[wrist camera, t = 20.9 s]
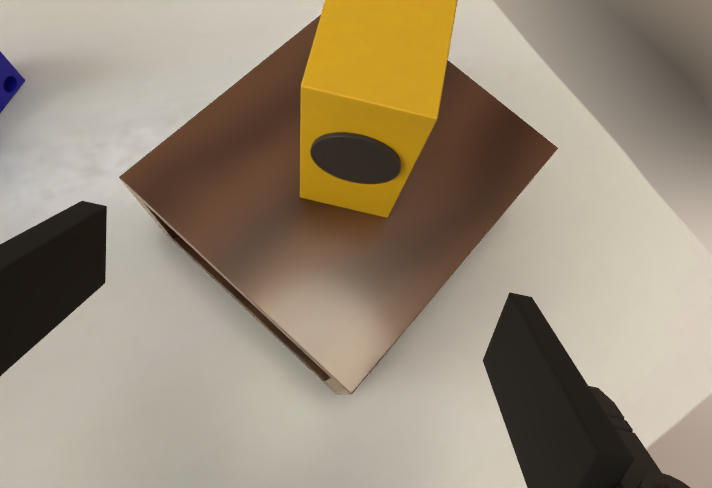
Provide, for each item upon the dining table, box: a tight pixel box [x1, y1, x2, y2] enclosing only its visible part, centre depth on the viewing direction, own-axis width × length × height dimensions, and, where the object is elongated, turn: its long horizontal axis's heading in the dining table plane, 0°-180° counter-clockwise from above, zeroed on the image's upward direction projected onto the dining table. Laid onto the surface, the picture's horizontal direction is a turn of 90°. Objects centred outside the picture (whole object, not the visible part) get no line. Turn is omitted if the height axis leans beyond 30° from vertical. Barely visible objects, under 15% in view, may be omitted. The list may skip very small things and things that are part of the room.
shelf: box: [119, 15, 558, 394], centre depth 38 cm, size 20×23×10 cm
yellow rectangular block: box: [300, 0, 457, 218], centre depth 27 cm, size 6×8×12 cm
